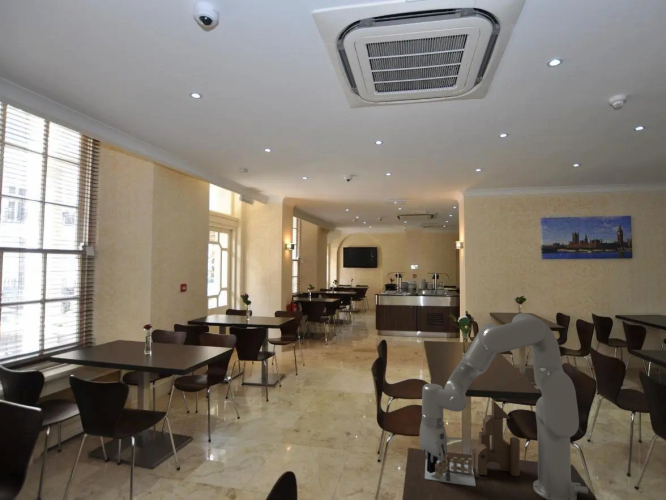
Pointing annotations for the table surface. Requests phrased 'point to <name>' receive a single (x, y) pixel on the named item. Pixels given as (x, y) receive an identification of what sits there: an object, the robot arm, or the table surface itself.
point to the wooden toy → (496, 445)
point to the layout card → (452, 476)
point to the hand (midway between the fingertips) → (431, 471)
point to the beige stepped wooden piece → (442, 467)
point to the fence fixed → (462, 465)
